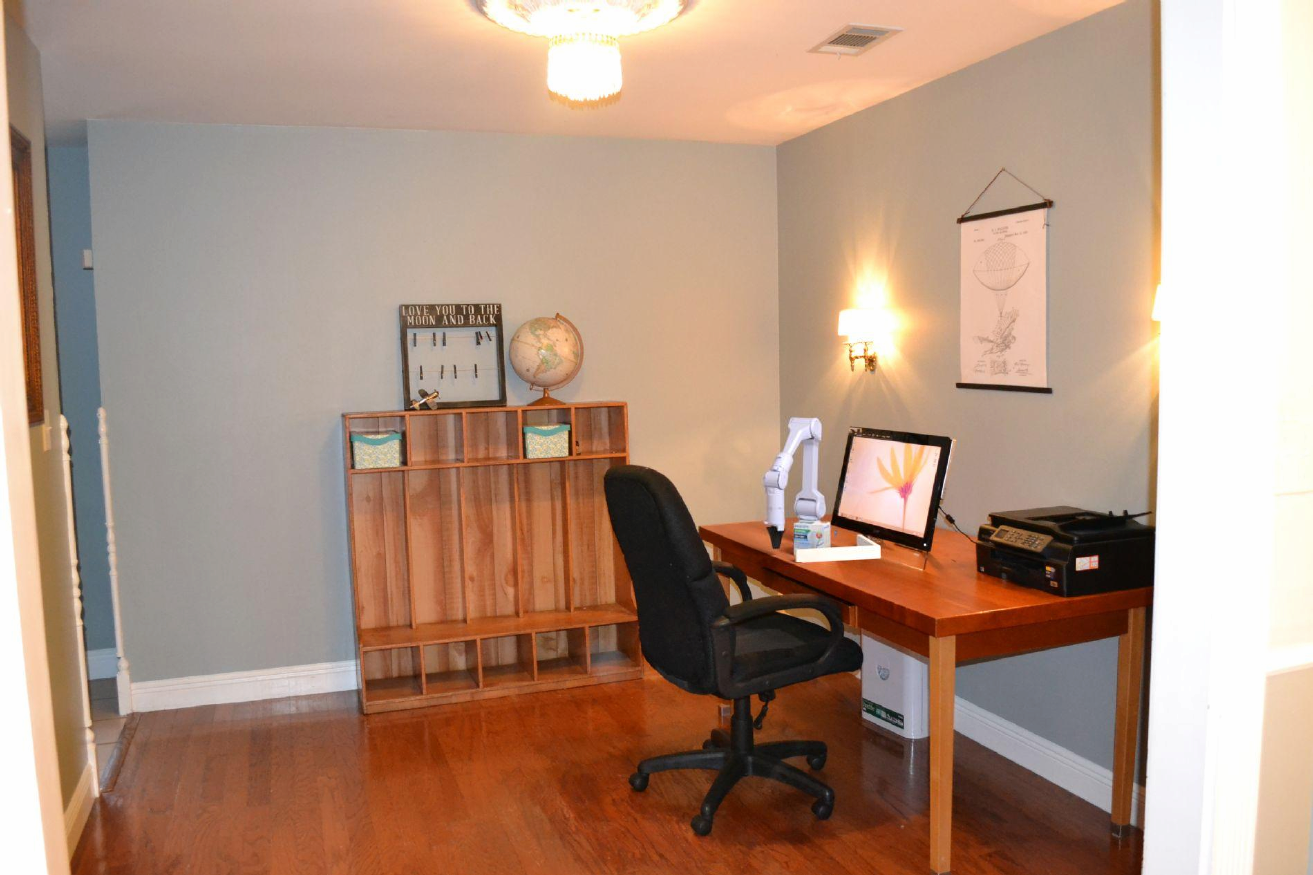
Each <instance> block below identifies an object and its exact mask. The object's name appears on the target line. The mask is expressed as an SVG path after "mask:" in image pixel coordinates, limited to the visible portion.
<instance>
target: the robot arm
mask: <svg viewBox="0 0 1313 875" xmlns="http://www.w3.org/2000/svg"><path fill="white" fill-rule="evenodd" d="M822 427H823V426H822V423H821V421H820V420H819V418H818V417H796V416H793V417H790V419H789V422H788V425H787V432H788V435H787V438H786V440H785V443H784V445H783V446H784V447H783V449H782V451H781V452H778V453H777V454H776V456H775V459H774V460H773V463H772V465H771V467H770V470H768V471H767V472H765V473H764V474H763V476H762V481H761V482H762V486H763V488H764V494H765V495H766V520H763V524H764V525H769V526H766V527H765V528H766V531H767V533H768V535H769V538H770V543H771V547H772V549H773V550H780V549H781V545H782V540H783V538H784V537H783V535H784V534H785V532H786V529H787V528H785V523H786V520H785V489H786V487H787V485H788V481H789V480H788V479H789V472H790V470H791V467H792V465H793V463H794V458H793V455H794V454H795V452H796V450H797V449H798V448H799V445H800V443H801V444H802V445H803V448H802V449H803V451H802V452H803V453H802V483H801V484H802V486H801V487H802V488H801V491H799V492H798V493H797V494H796V495H795V499H794V500H795V501H794V504H793V513H794V515H795V516H796V517H797V519H798V521H800V520H804V521H819V522H822V521H821V519H823V517H824V516H825V515H826V511H827V510H826V509H827V507H826V506H827V505H826V502H825V495H824V494H822V493H821V492H820V491H819V490H818V479H819V478H818V475H819V443H820V442H821V441H822Z"/></svg>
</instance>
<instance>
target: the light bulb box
mask: <svg viewBox="0 0 1313 875" xmlns="http://www.w3.org/2000/svg"><path fill="white" fill-rule="evenodd" d="M813 548H831V521H821V522H819V521H804V520H800V521H799V520H798V521H796V522H793V556H795V549H813Z"/></svg>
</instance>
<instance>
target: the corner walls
mask: <svg viewBox="0 0 1313 875" xmlns="http://www.w3.org/2000/svg"><path fill="white" fill-rule="evenodd" d="M794 557H795V558H794V560H795V563H796V562H802V563H815V562H816V563H819V562H835V561H837V562H838V561H853V560H872V559H873V560H874V559H881V558H882V556H881V545H880V544H878V543H876V542H874V541H873V540H871V539H869V538H868V537H866V536H864V535H863V534H856V546H855V545H854V546H837V547H833V546H832V547H830V548H813V549H795V555H794Z"/></svg>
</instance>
